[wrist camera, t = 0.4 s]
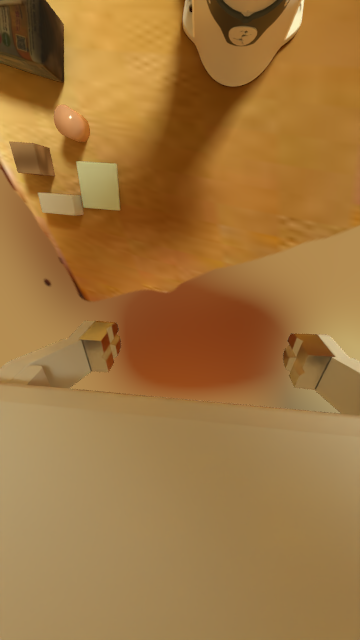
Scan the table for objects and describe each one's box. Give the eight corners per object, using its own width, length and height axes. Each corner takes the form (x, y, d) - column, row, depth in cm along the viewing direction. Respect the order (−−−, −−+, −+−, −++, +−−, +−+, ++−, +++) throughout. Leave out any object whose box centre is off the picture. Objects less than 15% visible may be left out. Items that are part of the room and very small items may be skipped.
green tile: (77, 161, 46) (75, 160, 45) (117, 164, 45) (116, 163, 45) (84, 207, 50) (83, 207, 50) (120, 210, 50) (119, 210, 49)
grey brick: (53, 211, 52) (42, 212, 48) (49, 192, 50) (37, 192, 46) (84, 214, 51) (75, 215, 48) (81, 195, 49) (71, 195, 46)
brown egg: (66, 113, 42) (51, 104, 38) (87, 114, 42) (74, 105, 37) (71, 141, 44) (57, 135, 40) (91, 143, 44) (79, 137, 40)
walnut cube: (27, 146, 45) (9, 141, 41) (49, 148, 45) (33, 143, 41) (34, 174, 48) (18, 172, 44) (55, 176, 48) (40, 173, 43)
